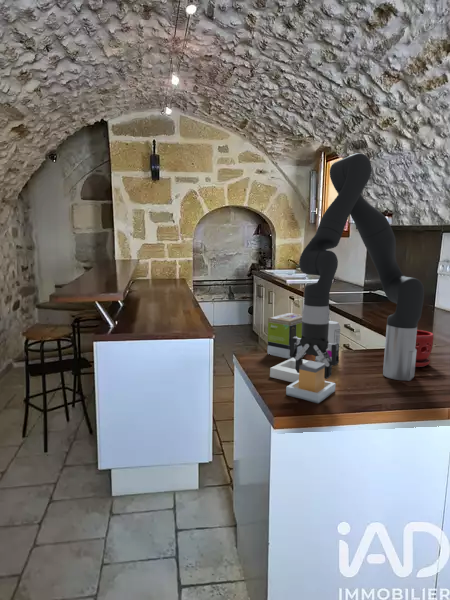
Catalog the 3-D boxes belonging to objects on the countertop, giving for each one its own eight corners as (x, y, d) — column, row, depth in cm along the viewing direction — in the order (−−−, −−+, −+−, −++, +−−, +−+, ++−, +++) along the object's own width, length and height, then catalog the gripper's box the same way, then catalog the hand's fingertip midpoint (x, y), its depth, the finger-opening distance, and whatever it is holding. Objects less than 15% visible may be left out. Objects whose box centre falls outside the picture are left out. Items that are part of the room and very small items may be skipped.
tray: (335, 391, 128) (335, 383, 128) (318, 403, 119) (318, 394, 118) (304, 383, 134) (304, 376, 134) (286, 394, 125) (286, 386, 124)
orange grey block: (324, 389, 128) (325, 363, 127) (314, 396, 122) (315, 369, 121) (308, 386, 131) (309, 360, 129) (298, 392, 125) (299, 365, 124)
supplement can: (321, 366, 153) (324, 324, 151) (311, 359, 161) (313, 320, 159) (342, 364, 155) (345, 323, 153) (330, 358, 163) (333, 319, 161)
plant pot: (432, 362, 161) (435, 330, 160) (428, 371, 150) (431, 337, 148) (395, 356, 168) (397, 326, 166) (389, 364, 157) (391, 332, 155)
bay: (320, 371, 147) (321, 363, 146) (299, 384, 134) (300, 374, 133) (292, 365, 153) (292, 357, 152) (269, 376, 140) (270, 367, 140)
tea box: (286, 347, 178) (288, 311, 176) (308, 351, 172) (310, 315, 170) (266, 354, 167) (267, 316, 165) (288, 359, 161) (290, 320, 158)
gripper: (344, 321, 122) (341, 376, 124) (298, 315, 130) (296, 367, 133) (334, 325, 116) (331, 383, 118) (286, 319, 124) (284, 373, 127)
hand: (312, 375), depth 125 cm, fingers open, 8 cm apart
